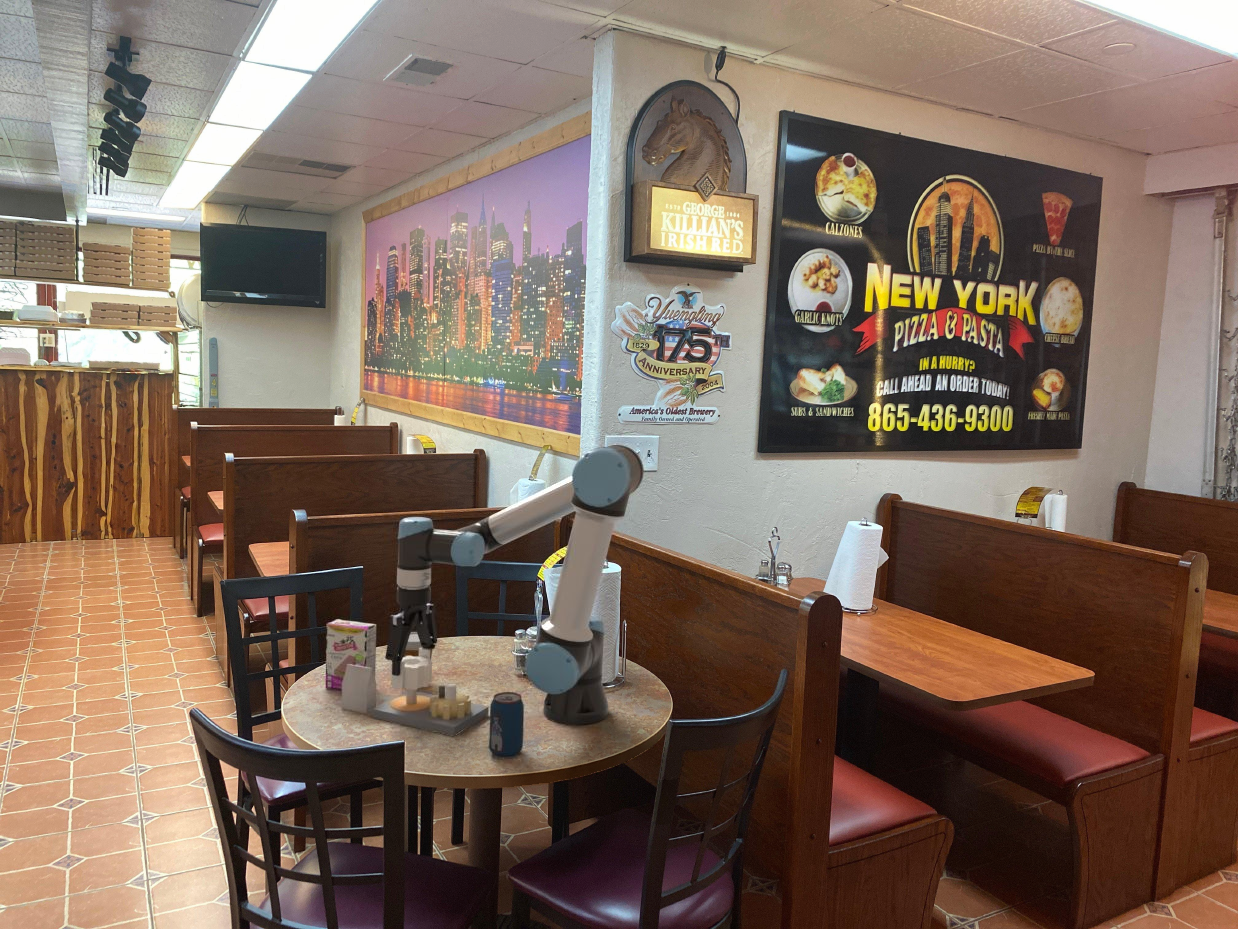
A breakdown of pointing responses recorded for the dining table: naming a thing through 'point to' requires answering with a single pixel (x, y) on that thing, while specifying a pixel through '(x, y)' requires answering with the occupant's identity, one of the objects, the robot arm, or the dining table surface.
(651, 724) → the dining table surface
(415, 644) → the disposable coffee cup
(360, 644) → the candy bar box
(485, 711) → the gear board
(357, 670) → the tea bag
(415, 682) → the loose gear
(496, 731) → the soda can
